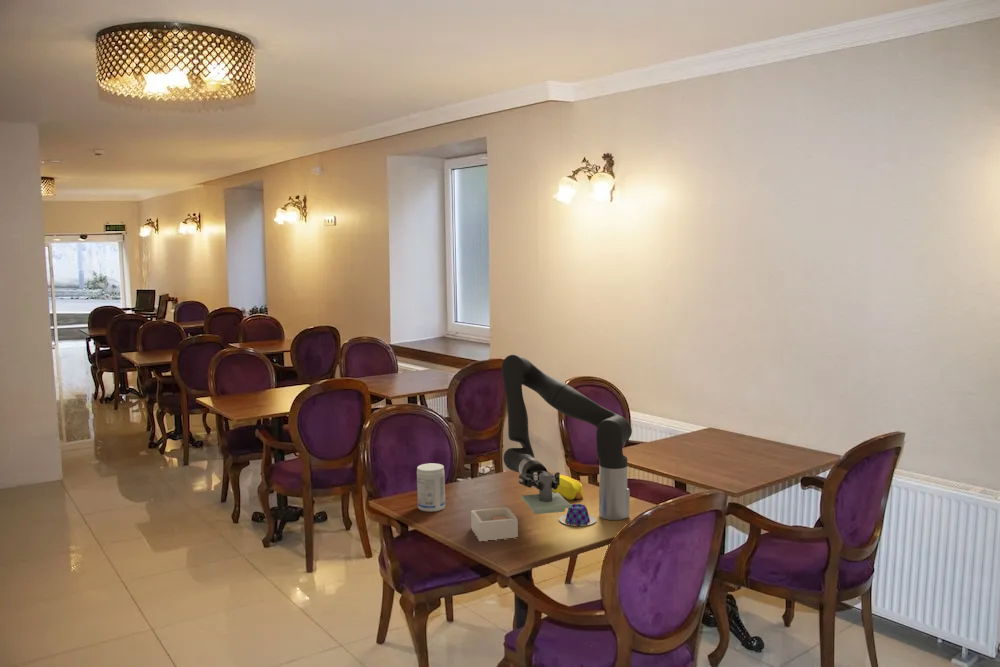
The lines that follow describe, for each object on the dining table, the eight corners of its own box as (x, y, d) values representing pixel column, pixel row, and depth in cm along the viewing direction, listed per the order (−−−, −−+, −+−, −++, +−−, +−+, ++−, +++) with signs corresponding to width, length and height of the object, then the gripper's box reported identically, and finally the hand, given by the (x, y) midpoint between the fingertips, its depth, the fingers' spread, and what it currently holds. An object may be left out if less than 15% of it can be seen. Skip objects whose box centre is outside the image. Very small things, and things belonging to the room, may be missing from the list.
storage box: (507, 525, 247) (507, 507, 247) (517, 538, 236) (517, 519, 235) (471, 528, 245) (471, 510, 244) (479, 541, 233) (479, 522, 232)
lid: (557, 500, 244) (558, 468, 243) (570, 512, 232) (570, 478, 231) (521, 503, 241) (521, 470, 240) (532, 515, 229) (532, 481, 228)
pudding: (555, 516, 256) (555, 501, 256) (590, 514, 258) (590, 499, 257) (563, 529, 244) (563, 513, 244) (600, 526, 246) (600, 511, 246)
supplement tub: (435, 502, 272) (434, 461, 271) (450, 508, 265) (450, 466, 263) (412, 507, 266) (411, 466, 265) (427, 514, 259) (426, 471, 257)
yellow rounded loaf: (557, 487, 289) (540, 490, 285) (557, 469, 288) (540, 473, 284) (588, 499, 274) (571, 503, 270) (588, 480, 274) (571, 484, 269)
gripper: (511, 461, 247) (526, 476, 231) (553, 458, 251) (571, 473, 234) (511, 484, 248) (526, 500, 232) (553, 480, 252) (570, 497, 235)
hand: (548, 486), depth 233 cm, fingers closed on lid, 4 cm apart
